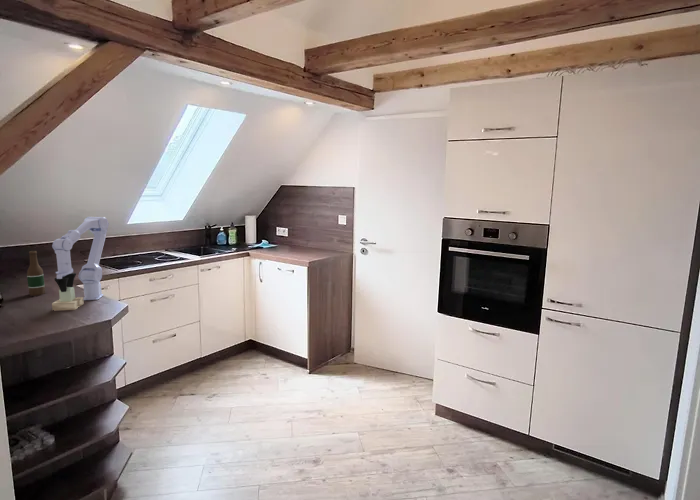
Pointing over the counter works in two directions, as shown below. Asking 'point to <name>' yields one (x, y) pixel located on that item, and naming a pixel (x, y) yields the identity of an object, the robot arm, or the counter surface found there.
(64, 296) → the sage block
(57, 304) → the birch base
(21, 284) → the counter surface
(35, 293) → the beer bottle
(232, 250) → the counter surface
